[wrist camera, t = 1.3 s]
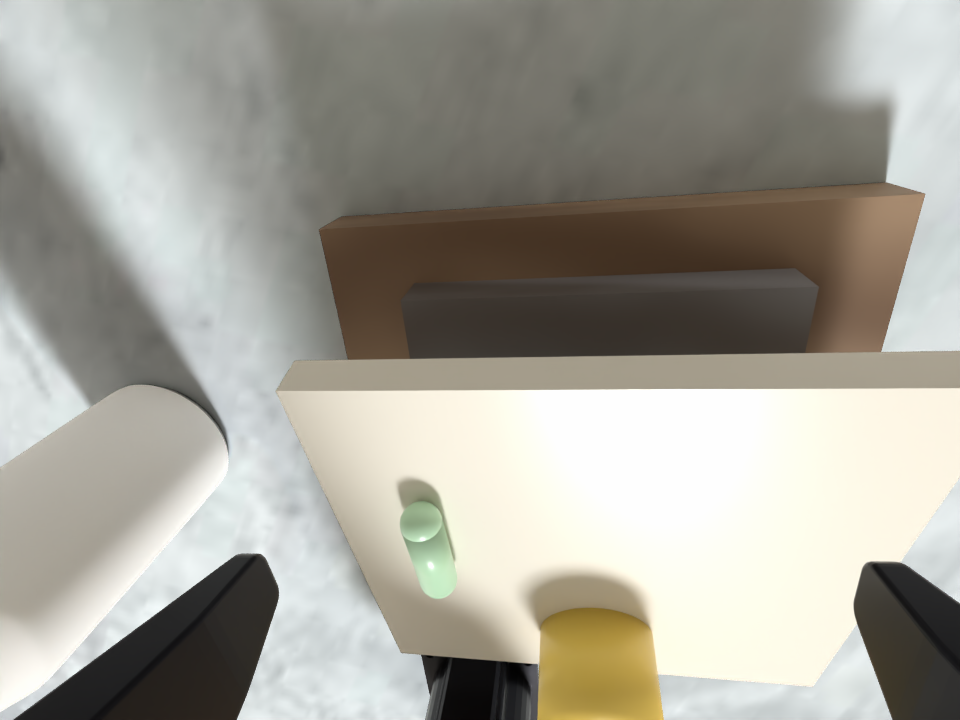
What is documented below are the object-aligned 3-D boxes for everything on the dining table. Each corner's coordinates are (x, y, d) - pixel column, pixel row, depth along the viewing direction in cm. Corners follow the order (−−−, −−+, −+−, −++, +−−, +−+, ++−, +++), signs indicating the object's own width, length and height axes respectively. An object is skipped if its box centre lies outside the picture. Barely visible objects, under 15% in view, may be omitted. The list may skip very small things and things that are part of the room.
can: (109, 358, 24) (-249, 570, 13) (244, 413, 24) (-3, 662, 14) (104, 459, 27) (-191, 696, 16) (224, 506, 27) (10, 769, 17)
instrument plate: (801, 652, 21) (846, 787, 17) (407, 624, 23) (382, 736, 20) (985, 350, 11) (1154, 519, 8) (294, 360, 14) (213, 489, 11)
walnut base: (786, 587, 24) (821, 663, 21) (412, 566, 27) (391, 631, 24) (886, 182, 16) (966, 205, 13) (341, 216, 19) (296, 242, 16)
